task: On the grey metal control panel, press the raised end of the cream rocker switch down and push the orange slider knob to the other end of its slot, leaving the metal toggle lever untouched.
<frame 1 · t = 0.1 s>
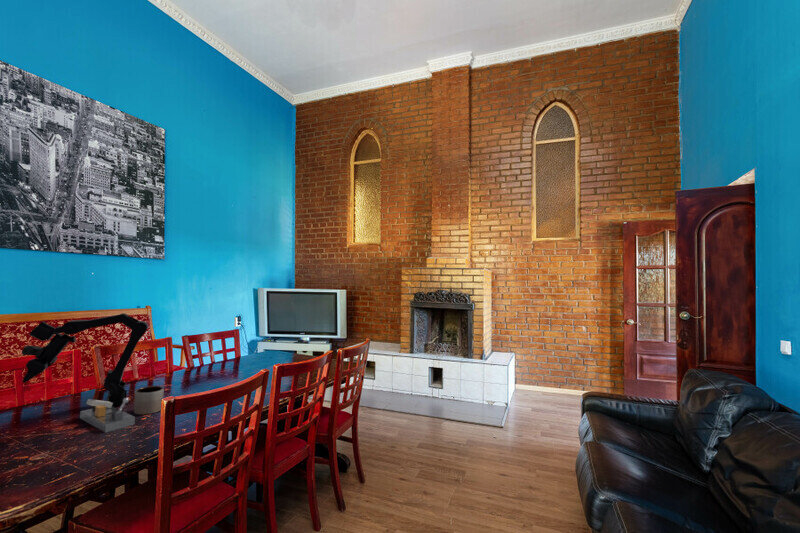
hand: (27, 379, 162), 15 cm above the table, tool tilted 35°, fingers open, 9 cm apart
toggle: (121, 407, 154), point 7 cm above the table, hinge at -30.0°
planter: (148, 411, 171), on the table
slider: (100, 410, 155), point 5 cm above the table, slide at 2.5 cm
rocker: (99, 403, 162), point 6 cm above the table, hinge at -21.0°
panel: (106, 421, 157), on the table
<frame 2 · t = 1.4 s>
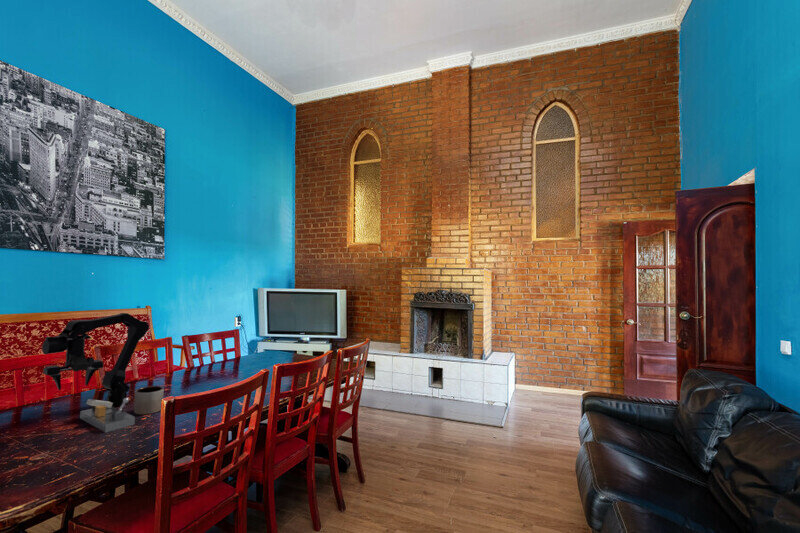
hand: (73, 387, 162), 12 cm above the table, tool pointing down, fingers open, 9 cm apart
nothing on the table moved.
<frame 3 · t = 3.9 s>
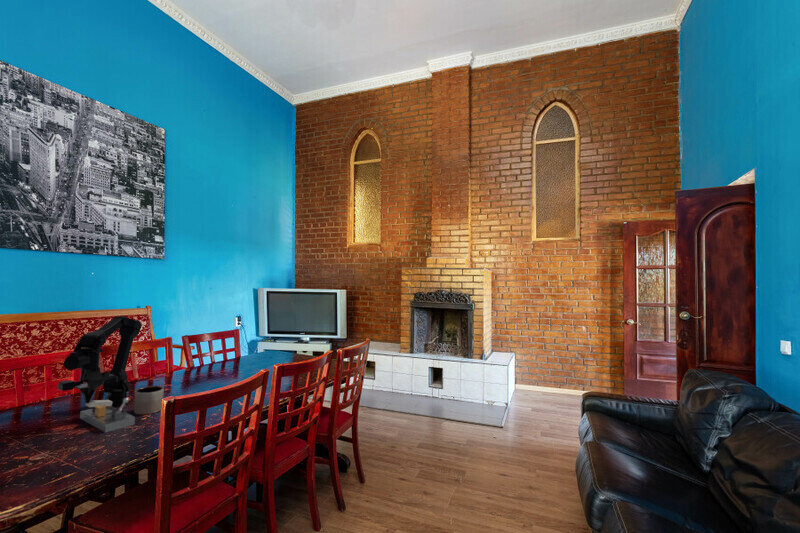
hand: (87, 403, 159), 7 cm above the table, tool pointing down, fingers closed
rocker: (99, 403, 162), point 6 cm above the table, hinge at -11.3°, touching gripper
everything else where it was.
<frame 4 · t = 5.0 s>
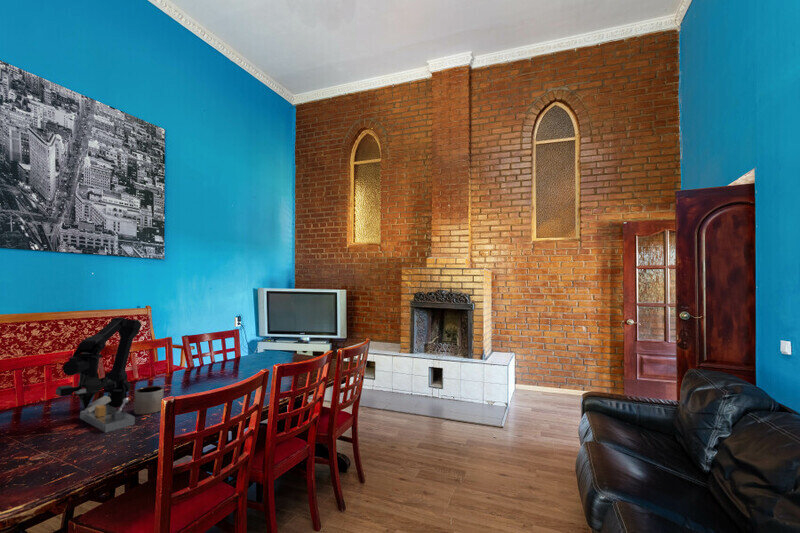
hand: (85, 408, 158), 5 cm above the table, tool pointing down, fingers closed
rocker: (97, 403, 162), point 6 cm above the table, hinge at 21.1°, touching gripper
everything else where it was.
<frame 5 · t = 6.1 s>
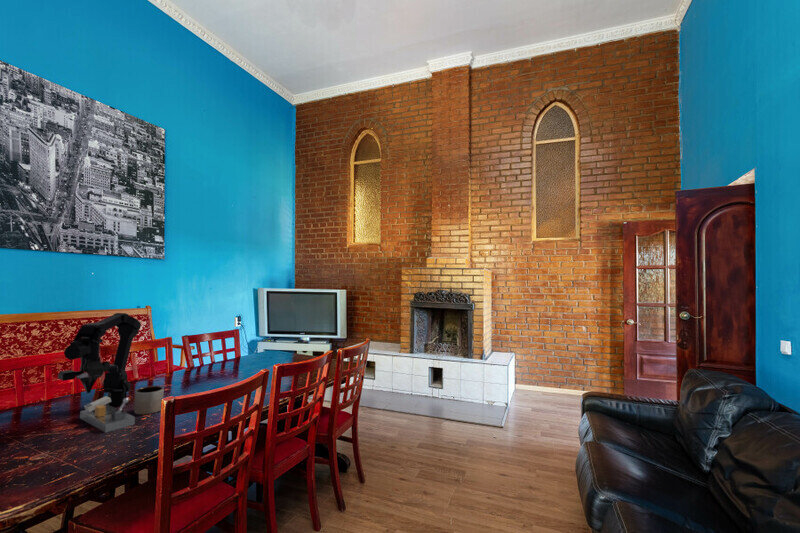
hand: (88, 392, 158), 11 cm above the table, tool pointing down, fingers closed
rocker: (98, 403, 162), point 6 cm above the table, hinge at 16.3°
everything else where it was.
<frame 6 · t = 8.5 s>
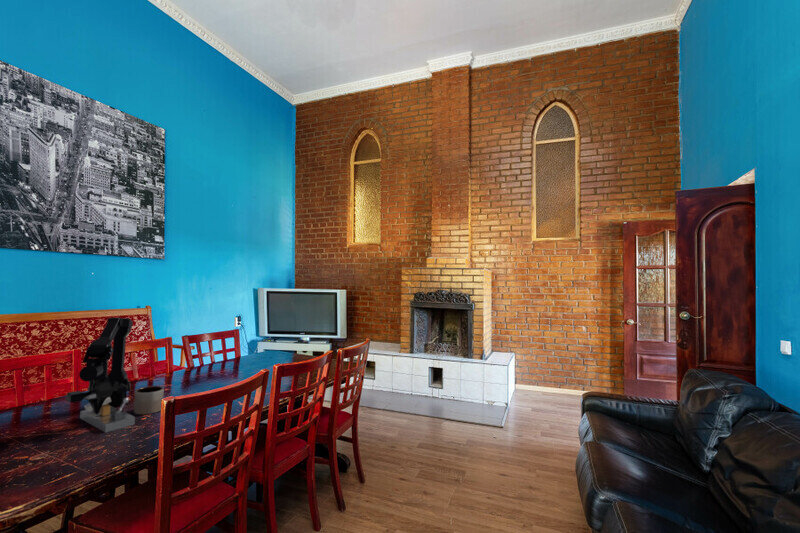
hand: (96, 413, 154), 4 cm above the table, tool pointing down, fingers closed
slider: (105, 409, 157), point 5 cm above the table, slide at 0.9 cm, touching gripper
everything else where it was.
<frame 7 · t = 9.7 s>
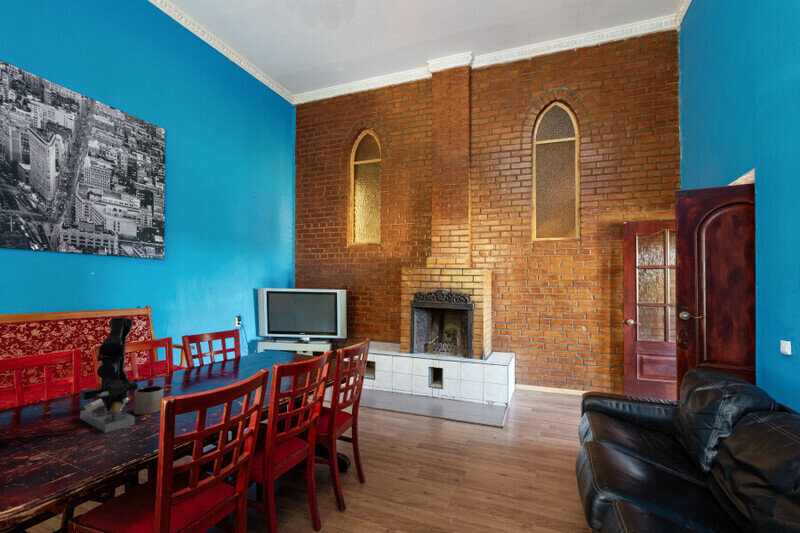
hand: (108, 410, 158), 4 cm above the table, tool pointing down, fingers closed
slider: (116, 407, 160), point 5 cm above the table, slide at -3.0 cm, touching gripper
everything else where it was.
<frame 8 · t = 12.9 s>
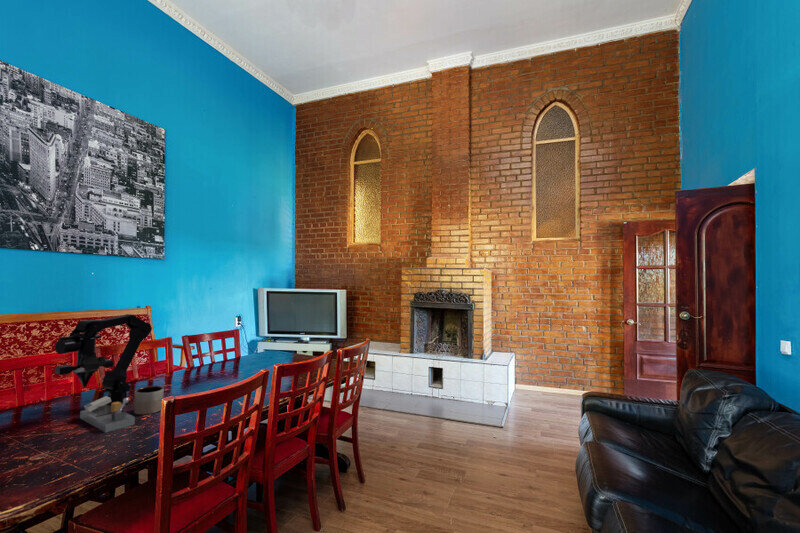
hand: (84, 387, 163), 12 cm above the table, tool pointing down, fingers closed
slider: (116, 407, 160), point 5 cm above the table, slide at -3.0 cm
everything else where it was.
at the end: rocker at +16° (first picture: -21°); slider slide at -3.0 cm; toggle at -30° (first picture: -30°) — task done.
